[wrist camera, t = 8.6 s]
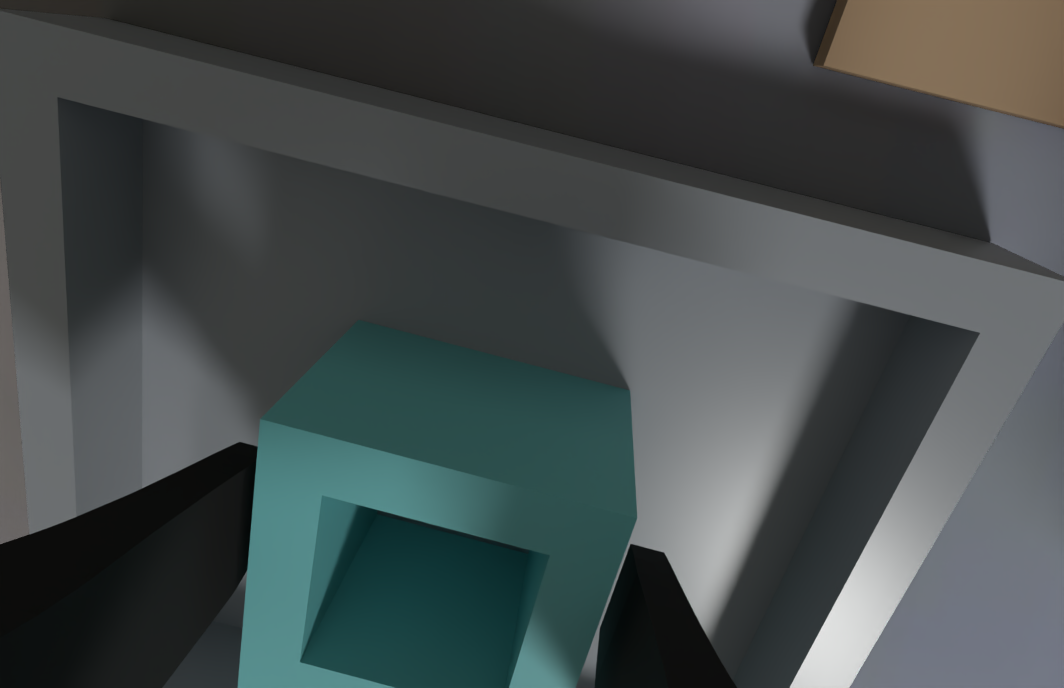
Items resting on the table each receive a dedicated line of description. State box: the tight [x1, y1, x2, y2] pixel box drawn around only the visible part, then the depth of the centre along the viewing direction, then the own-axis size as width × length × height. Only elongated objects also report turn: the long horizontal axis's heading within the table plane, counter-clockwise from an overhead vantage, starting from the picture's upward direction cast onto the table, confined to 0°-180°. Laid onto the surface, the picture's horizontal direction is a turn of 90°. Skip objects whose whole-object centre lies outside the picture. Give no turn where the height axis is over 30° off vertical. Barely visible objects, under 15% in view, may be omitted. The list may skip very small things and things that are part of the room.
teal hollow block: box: [238, 320, 637, 688], centre depth 13 cm, size 5×7×4 cm
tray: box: [0, 9, 1064, 688], centre depth 14 cm, size 16×14×2 cm
